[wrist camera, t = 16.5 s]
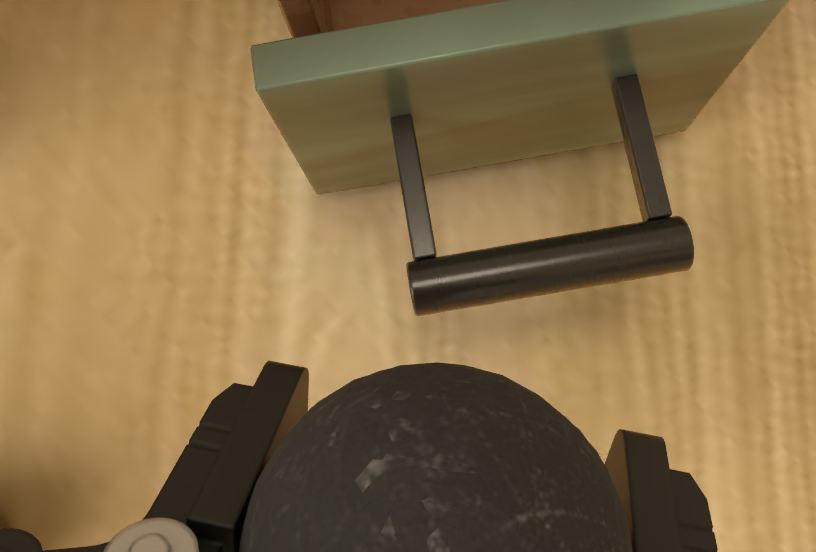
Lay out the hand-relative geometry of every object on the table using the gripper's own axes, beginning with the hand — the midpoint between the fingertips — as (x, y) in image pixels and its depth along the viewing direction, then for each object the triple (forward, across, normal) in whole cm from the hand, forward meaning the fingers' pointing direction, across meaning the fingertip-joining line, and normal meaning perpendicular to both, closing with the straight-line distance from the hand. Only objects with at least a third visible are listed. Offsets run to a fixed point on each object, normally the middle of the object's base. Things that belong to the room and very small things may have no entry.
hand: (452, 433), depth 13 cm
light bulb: (+2, 0, +5) cm, 5 cm away
